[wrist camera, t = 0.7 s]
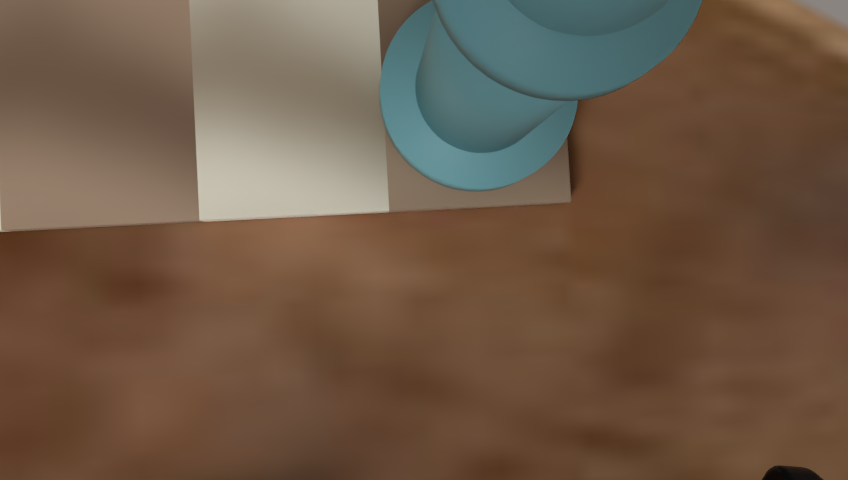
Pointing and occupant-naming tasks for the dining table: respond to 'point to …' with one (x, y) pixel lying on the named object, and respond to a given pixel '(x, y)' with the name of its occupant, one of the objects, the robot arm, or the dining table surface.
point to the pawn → (512, 78)
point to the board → (210, 115)
